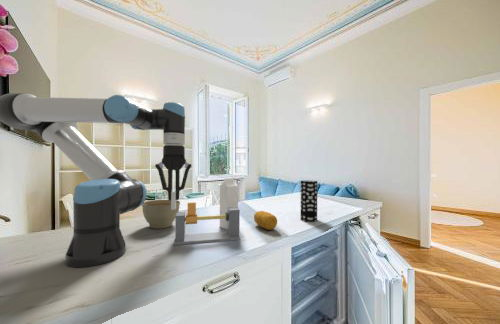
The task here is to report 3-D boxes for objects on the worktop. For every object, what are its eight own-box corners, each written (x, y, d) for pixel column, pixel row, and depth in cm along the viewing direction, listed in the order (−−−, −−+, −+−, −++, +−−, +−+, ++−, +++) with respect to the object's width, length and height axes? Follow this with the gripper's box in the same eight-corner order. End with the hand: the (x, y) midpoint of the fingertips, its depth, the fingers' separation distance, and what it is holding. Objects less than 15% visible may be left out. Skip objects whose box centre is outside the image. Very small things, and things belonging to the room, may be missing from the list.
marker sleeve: (185, 224, 78) (186, 203, 78) (186, 221, 81) (186, 202, 82) (197, 223, 79) (197, 203, 79) (197, 221, 82) (197, 201, 82)
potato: (264, 222, 104) (264, 208, 104) (281, 231, 91) (281, 215, 91) (251, 224, 101) (251, 209, 101) (266, 233, 88) (266, 216, 88)
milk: (237, 227, 97) (238, 178, 97) (227, 229, 92) (227, 179, 93) (229, 224, 101) (230, 177, 101) (219, 226, 97) (219, 178, 97)
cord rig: (173, 244, 75) (173, 213, 75) (175, 237, 83) (176, 209, 83) (240, 239, 81) (240, 210, 81) (236, 232, 88) (236, 206, 89)
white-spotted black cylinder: (306, 216, 115) (306, 180, 116) (320, 220, 109) (320, 181, 109) (297, 219, 110) (297, 180, 110) (310, 223, 104) (311, 182, 104)
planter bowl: (171, 231, 89) (172, 206, 89) (134, 231, 90) (134, 205, 90) (184, 221, 105) (184, 199, 105) (152, 220, 106) (152, 199, 106)
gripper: (153, 144, 74) (152, 211, 74) (191, 145, 77) (191, 210, 77) (157, 145, 81) (156, 207, 81) (192, 146, 84) (192, 206, 84)
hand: (173, 208), depth 79 cm, fingers closed
